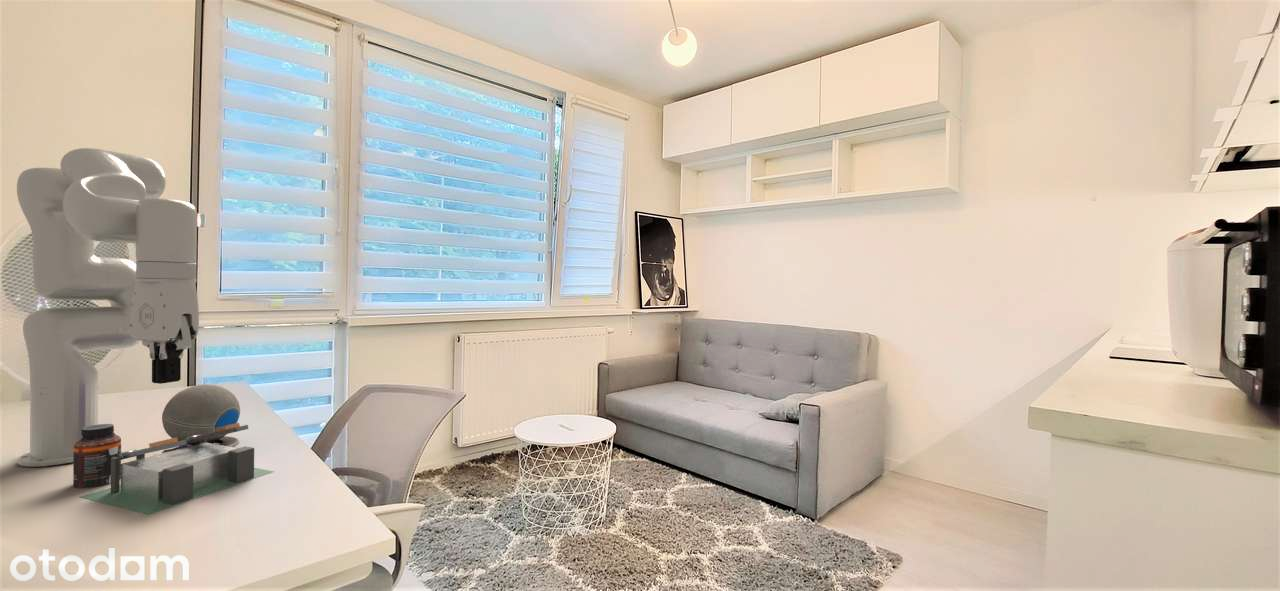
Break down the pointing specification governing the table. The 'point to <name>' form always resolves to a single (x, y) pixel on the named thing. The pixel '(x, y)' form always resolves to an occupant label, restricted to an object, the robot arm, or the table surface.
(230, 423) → the grey egg-shaped pod
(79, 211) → the robot arm
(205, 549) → the table surface
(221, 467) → the plate
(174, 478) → the board
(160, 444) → the strap
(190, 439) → the strap
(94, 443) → the supplement bottle
